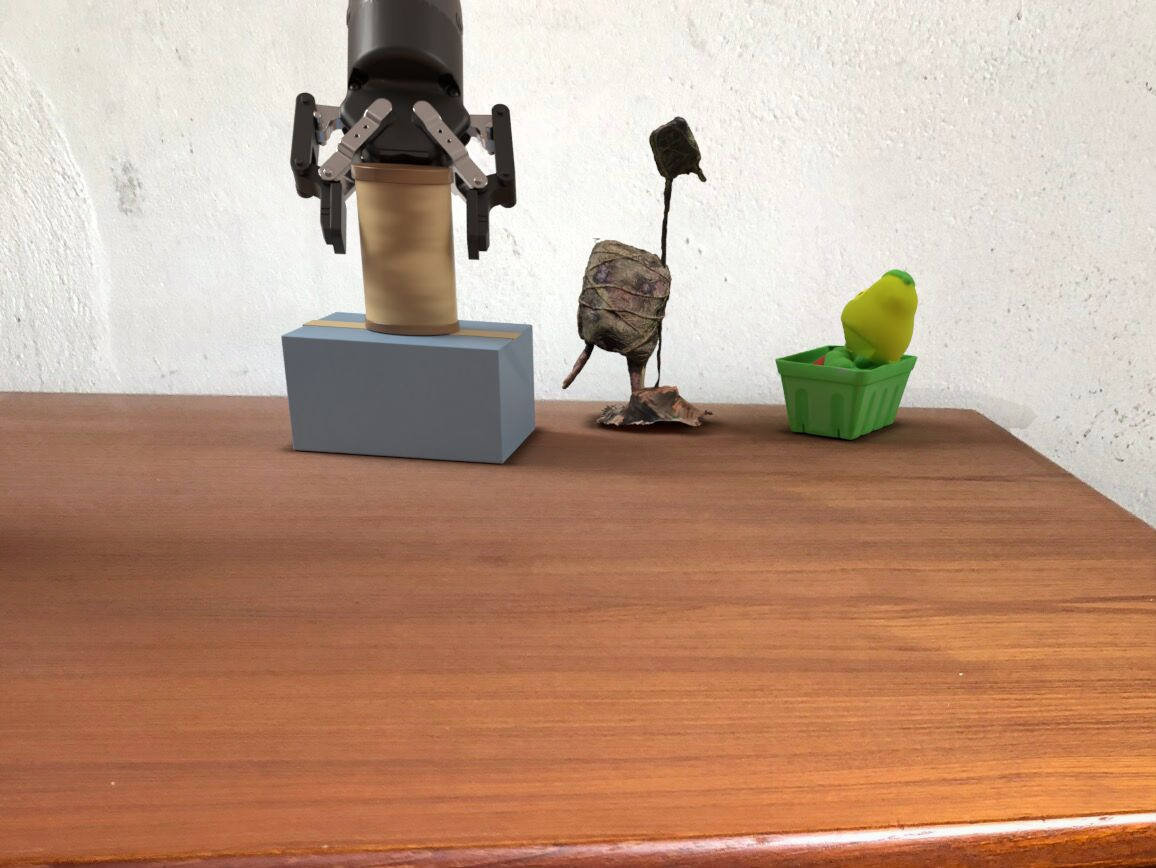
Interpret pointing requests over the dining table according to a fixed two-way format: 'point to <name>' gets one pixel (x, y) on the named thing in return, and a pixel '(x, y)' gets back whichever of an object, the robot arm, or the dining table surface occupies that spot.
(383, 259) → the tan lidded canister
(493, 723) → the dining table surface
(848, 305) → the fruit basket
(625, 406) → the brown bird sculpture
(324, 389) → the blue box
